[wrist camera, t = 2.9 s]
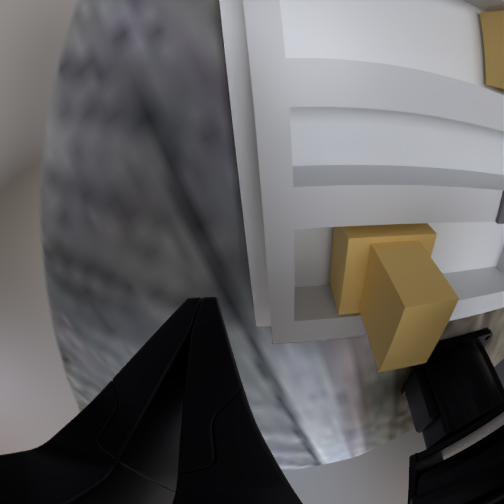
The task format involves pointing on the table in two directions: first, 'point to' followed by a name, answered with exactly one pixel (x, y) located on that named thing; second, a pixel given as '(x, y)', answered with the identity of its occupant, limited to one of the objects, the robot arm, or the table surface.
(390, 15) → the switch bank
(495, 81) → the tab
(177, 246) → the table surface
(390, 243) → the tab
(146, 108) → the table surface
